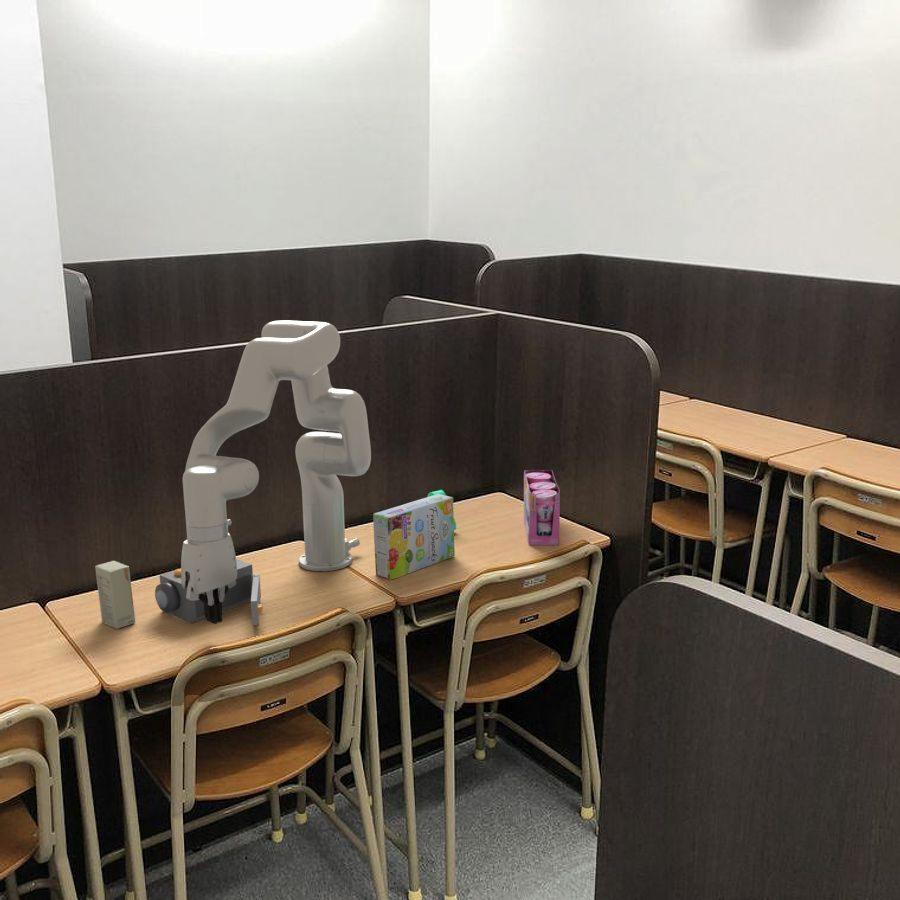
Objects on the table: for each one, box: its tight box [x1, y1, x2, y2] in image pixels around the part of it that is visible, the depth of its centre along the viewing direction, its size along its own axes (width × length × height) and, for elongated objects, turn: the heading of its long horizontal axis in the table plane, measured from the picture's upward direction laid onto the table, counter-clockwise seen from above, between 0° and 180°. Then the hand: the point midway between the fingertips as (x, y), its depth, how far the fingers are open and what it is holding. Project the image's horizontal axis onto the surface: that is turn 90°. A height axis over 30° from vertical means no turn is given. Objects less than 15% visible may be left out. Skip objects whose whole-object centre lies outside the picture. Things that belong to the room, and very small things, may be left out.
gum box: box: [523, 469, 561, 546], centre depth 243 cm, size 24×8×14 cm, turn 179°
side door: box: [250, 573, 263, 626], centre depth 194 cm, size 15×2×5 cm, turn 9°
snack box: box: [372, 494, 456, 581], centre depth 220 cm, size 21×6×15 cm, turn 136°
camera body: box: [154, 558, 254, 624], centre depth 198 cm, size 19×10×9 cm, turn 139°
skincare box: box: [94, 560, 136, 630], centre depth 190 cm, size 6×4×12 cm
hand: (214, 621), depth 183 cm, fingers closed
